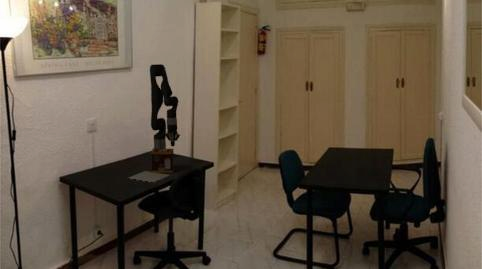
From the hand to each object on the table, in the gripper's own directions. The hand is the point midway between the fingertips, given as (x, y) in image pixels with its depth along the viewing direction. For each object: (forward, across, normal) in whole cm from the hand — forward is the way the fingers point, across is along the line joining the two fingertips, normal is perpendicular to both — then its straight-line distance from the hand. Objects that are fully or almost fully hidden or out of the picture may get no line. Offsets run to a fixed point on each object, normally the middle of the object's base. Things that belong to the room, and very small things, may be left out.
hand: (172, 146), depth 357 cm
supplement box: (+16, 0, -13) cm, 21 cm away
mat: (+16, 0, -29) cm, 33 cm away
